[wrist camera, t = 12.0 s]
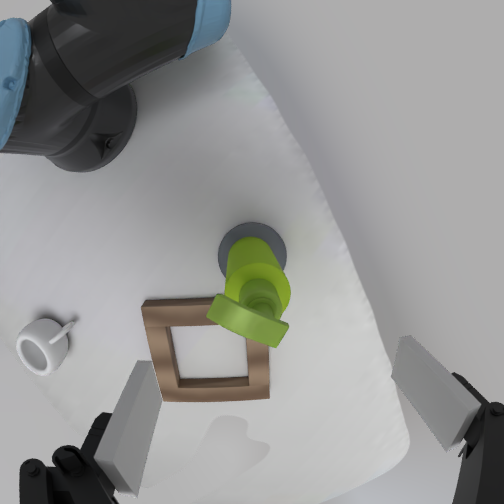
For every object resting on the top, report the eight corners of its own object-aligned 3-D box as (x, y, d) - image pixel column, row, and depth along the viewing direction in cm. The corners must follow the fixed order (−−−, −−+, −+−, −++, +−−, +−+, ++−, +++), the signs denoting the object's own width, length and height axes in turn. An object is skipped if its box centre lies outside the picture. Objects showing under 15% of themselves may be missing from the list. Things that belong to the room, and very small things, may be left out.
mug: (57, 361, 41) (37, 384, 34) (29, 323, 40) (6, 342, 32) (95, 338, 41) (75, 363, 33) (65, 294, 39) (39, 314, 31)
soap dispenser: (233, 225, 37) (230, 269, 18) (280, 248, 38) (324, 312, 19) (213, 265, 38) (193, 343, 19) (260, 287, 39) (281, 377, 20)
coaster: (215, 224, 38) (215, 225, 37) (285, 220, 38) (285, 221, 38) (221, 290, 40) (220, 291, 39) (286, 286, 40) (287, 287, 40)
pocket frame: (145, 300, 40) (140, 307, 37) (265, 294, 40) (266, 301, 38) (166, 392, 43) (163, 401, 41) (267, 388, 44) (269, 398, 42)
